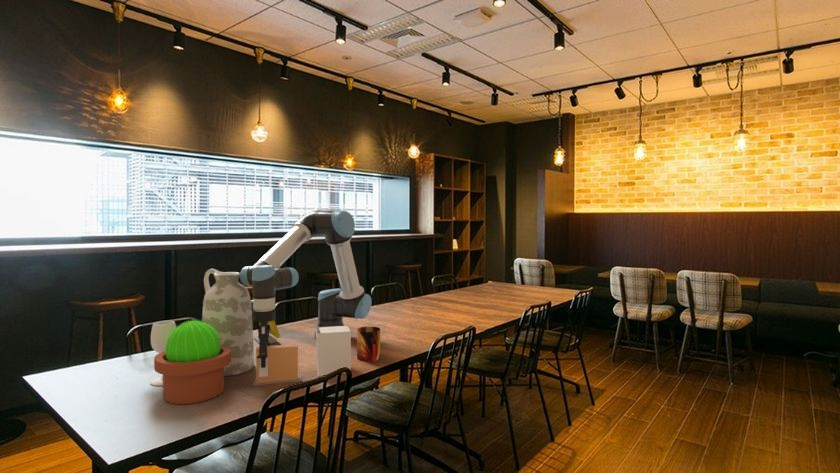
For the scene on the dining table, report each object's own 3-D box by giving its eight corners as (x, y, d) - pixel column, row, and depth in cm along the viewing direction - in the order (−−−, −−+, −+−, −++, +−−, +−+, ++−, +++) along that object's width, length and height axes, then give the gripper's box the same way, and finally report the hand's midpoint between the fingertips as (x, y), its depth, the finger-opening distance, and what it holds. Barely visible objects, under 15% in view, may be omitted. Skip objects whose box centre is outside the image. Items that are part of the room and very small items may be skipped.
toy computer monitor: (280, 344, 205) (280, 310, 205) (262, 347, 201) (262, 312, 200) (268, 334, 222) (267, 303, 221) (251, 337, 218) (251, 304, 217)
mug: (374, 365, 178) (374, 335, 177) (352, 357, 187) (352, 329, 187) (391, 359, 185) (392, 330, 184) (369, 352, 194) (369, 325, 194)
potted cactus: (180, 414, 132) (179, 330, 131) (141, 398, 144) (140, 320, 143) (244, 390, 151) (244, 316, 150) (205, 377, 163) (204, 309, 161)
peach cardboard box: (256, 380, 160) (256, 346, 159) (297, 376, 164) (297, 344, 163) (256, 383, 157) (256, 349, 156) (298, 379, 161) (297, 346, 160)
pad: (254, 379, 161) (254, 379, 161) (300, 375, 165) (300, 374, 165) (253, 385, 155) (253, 385, 155) (301, 381, 160) (301, 380, 160)
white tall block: (316, 368, 173) (316, 326, 172) (347, 366, 176) (347, 324, 176) (317, 376, 164) (317, 331, 164) (350, 373, 168) (350, 329, 167)
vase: (264, 364, 178) (263, 268, 176) (230, 380, 160) (228, 273, 159) (223, 358, 184) (222, 265, 183) (186, 373, 167) (184, 271, 165)
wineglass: (158, 377, 162) (157, 319, 161) (183, 377, 163) (182, 319, 162) (145, 386, 154) (144, 325, 153) (172, 385, 154) (171, 325, 153)
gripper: (254, 303, 168) (255, 360, 169) (250, 317, 145) (250, 383, 146) (275, 302, 170) (275, 358, 171) (274, 316, 147) (274, 381, 148)
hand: (264, 370), depth 159 cm, fingers open, 12 cm apart
